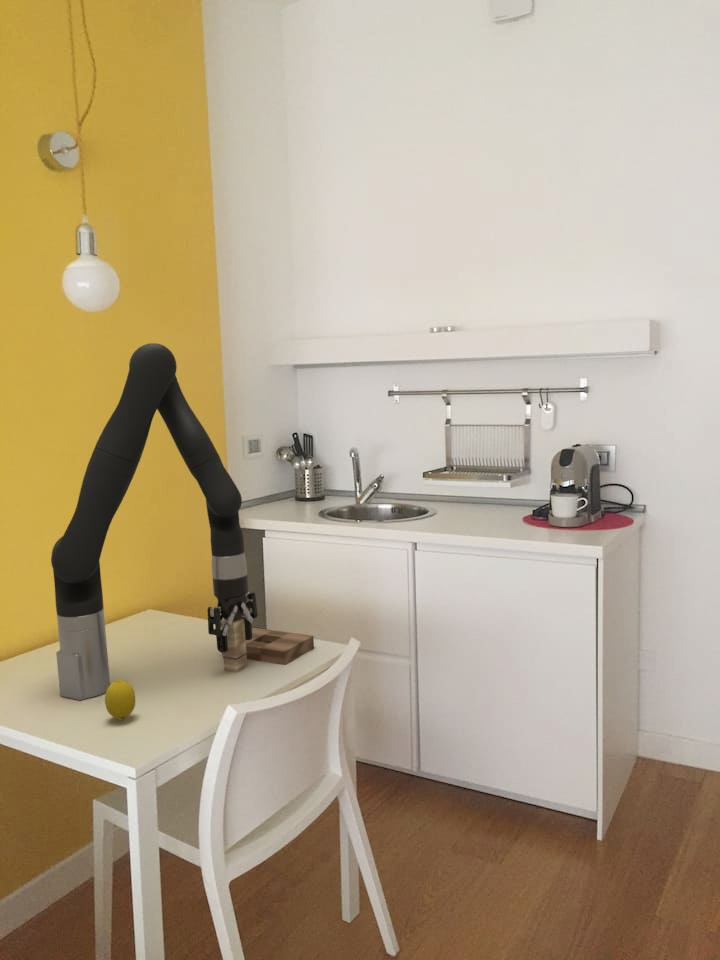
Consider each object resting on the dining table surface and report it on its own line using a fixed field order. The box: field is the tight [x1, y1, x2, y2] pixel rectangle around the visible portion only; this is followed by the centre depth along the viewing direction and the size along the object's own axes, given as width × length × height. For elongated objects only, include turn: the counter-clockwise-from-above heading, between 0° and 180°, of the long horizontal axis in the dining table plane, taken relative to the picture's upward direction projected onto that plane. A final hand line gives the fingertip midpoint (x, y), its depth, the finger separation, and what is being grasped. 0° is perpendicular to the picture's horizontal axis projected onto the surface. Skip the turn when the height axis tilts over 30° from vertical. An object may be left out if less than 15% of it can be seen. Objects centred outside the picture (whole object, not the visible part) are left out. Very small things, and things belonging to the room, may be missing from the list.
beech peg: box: [221, 618, 248, 673], centre depth 182 cm, size 4×4×11 cm
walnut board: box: [220, 626, 315, 666], centre depth 192 cm, size 12×18×3 cm, turn 61°
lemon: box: [104, 678, 136, 721], centre depth 157 cm, size 6×6×8 cm
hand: (235, 645), depth 182 cm, fingers open, 8 cm apart
